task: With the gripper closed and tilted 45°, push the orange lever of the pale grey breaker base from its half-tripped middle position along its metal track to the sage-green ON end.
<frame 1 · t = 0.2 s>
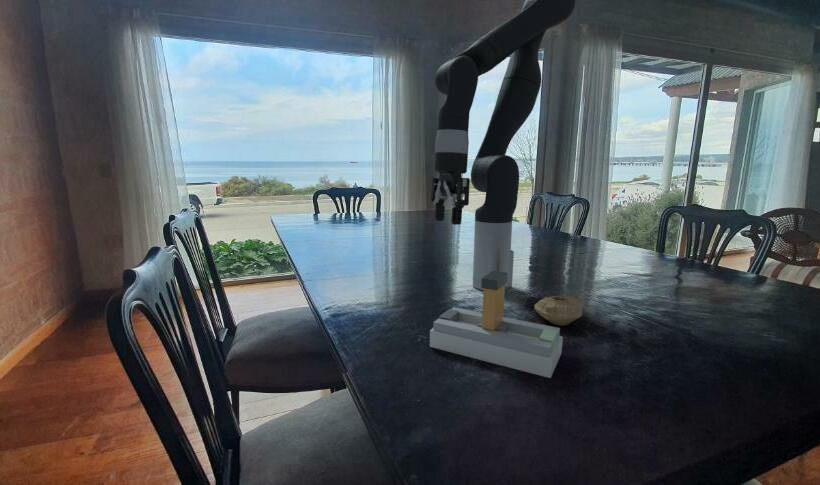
hand: (447, 222, 92), 18 cm above the table, tool pointing down, fingers open, 8 cm apart
pottery oil lamp: (564, 321, 79), on the table
breaker base: (494, 350, 66), on the table
breaker lever: (493, 304, 65), point 8 cm above the table, slide at 4.0 cm
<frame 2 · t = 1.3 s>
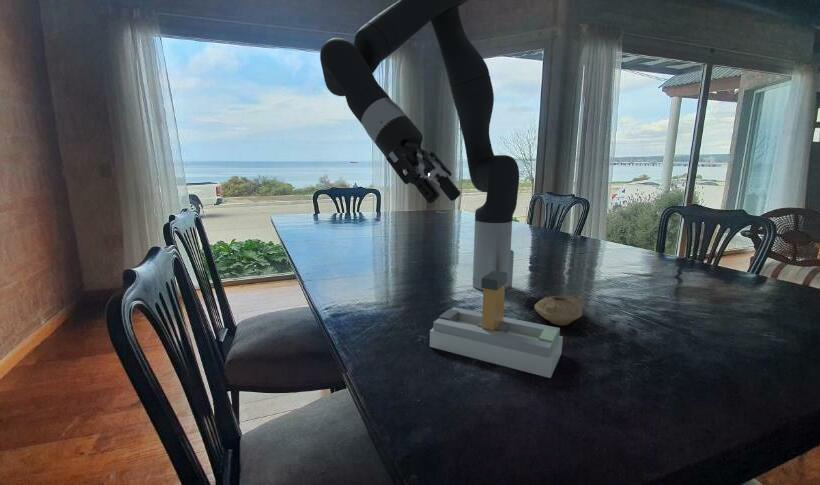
hand: (446, 198, 67), 25 cm above the table, tool tilted 45°, fingers open, 8 cm apart
nothing on the table moved.
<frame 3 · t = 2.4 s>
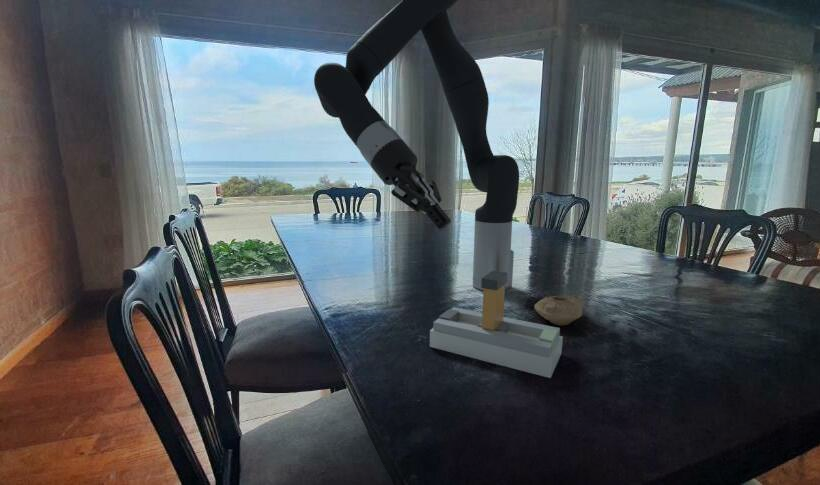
hand: (445, 225, 67), 21 cm above the table, tool tilted 45°, fingers closed
nothing on the table moved.
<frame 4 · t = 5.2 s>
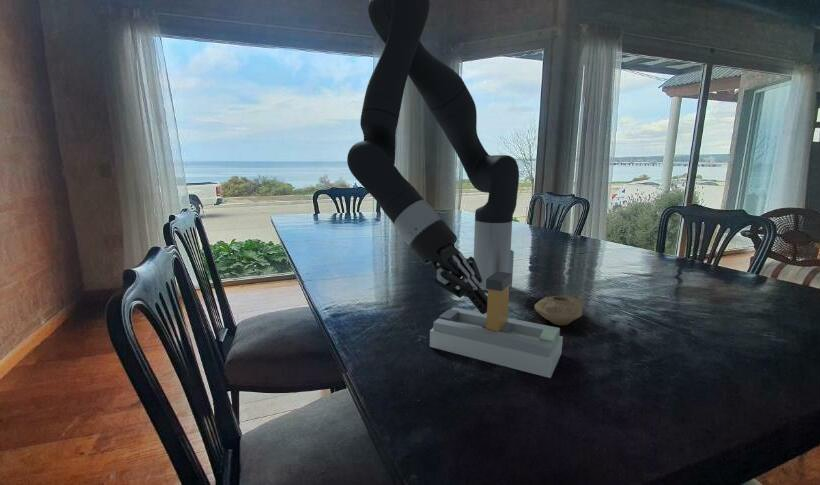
hand: (488, 310, 65), 7 cm above the table, tool tilted 45°, fingers closed
breaker lever: (498, 304, 65), point 8 cm above the table, slide at 4.8 cm, touching gripper
everything else where it was.
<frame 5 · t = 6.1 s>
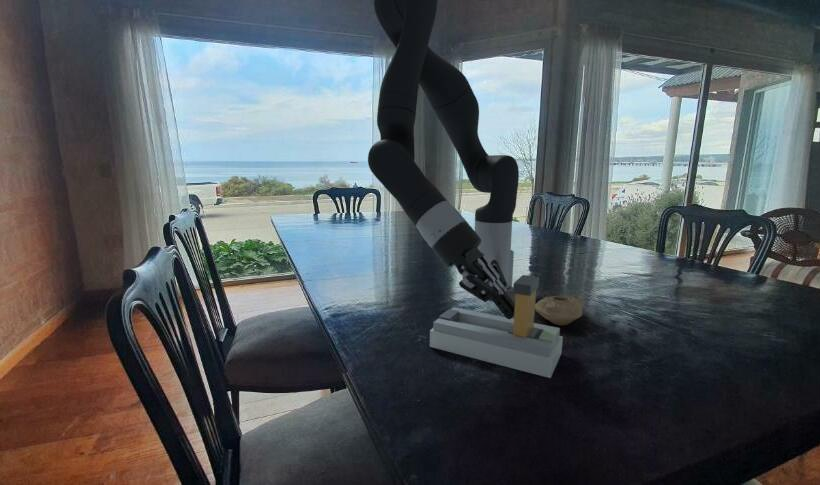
hand: (514, 315, 63), 7 cm above the table, tool tilted 45°, fingers closed
breaker lever: (524, 309, 62), point 8 cm above the table, slide at 9.1 cm, touching gripper
everything else where it was.
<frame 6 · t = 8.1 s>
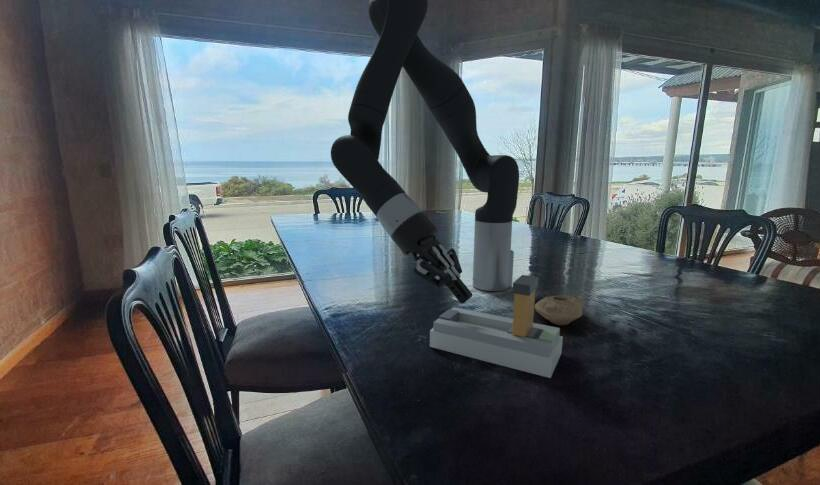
hand: (467, 299, 67), 8 cm above the table, tool tilted 45°, fingers closed
breaker lever: (524, 309, 62), point 8 cm above the table, slide at 9.0 cm
everything else where it was.
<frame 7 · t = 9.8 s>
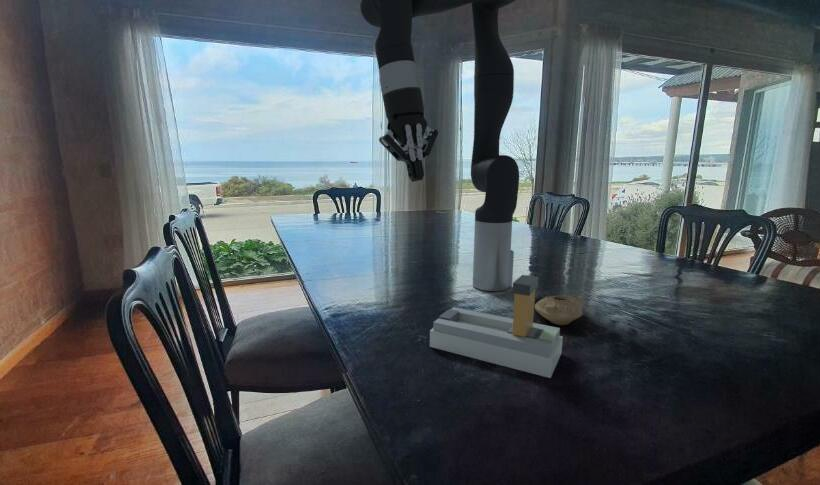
hand: (417, 180, 78), 28 cm above the table, tool pointing down, fingers closed
nothing on the table moved.
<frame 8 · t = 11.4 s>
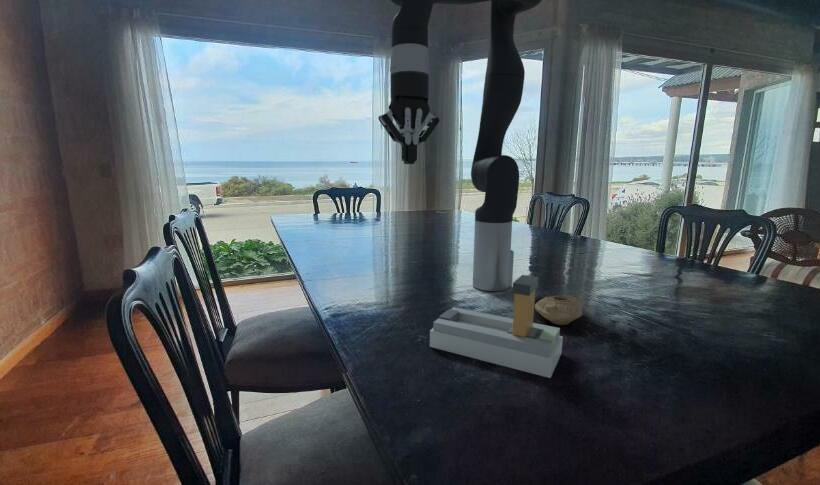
hand: (409, 164, 80), 31 cm above the table, tool pointing down, fingers closed
nothing on the table moved.
at the end: breaker lever slide at 9.0 cm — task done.
